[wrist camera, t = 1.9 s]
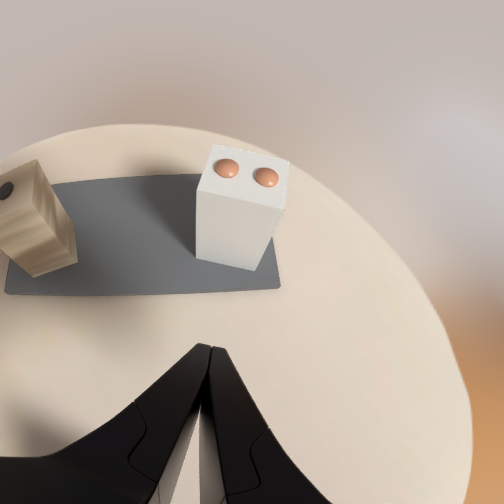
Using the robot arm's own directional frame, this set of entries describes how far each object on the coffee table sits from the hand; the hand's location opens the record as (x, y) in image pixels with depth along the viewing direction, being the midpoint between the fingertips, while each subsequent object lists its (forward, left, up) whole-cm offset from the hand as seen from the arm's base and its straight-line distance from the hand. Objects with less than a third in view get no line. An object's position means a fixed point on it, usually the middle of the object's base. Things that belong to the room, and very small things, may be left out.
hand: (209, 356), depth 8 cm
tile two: (+8, +7, -13) cm, 17 cm away
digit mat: (+2, +14, -13) cm, 19 cm away
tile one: (-5, +16, -13) cm, 21 cm away
